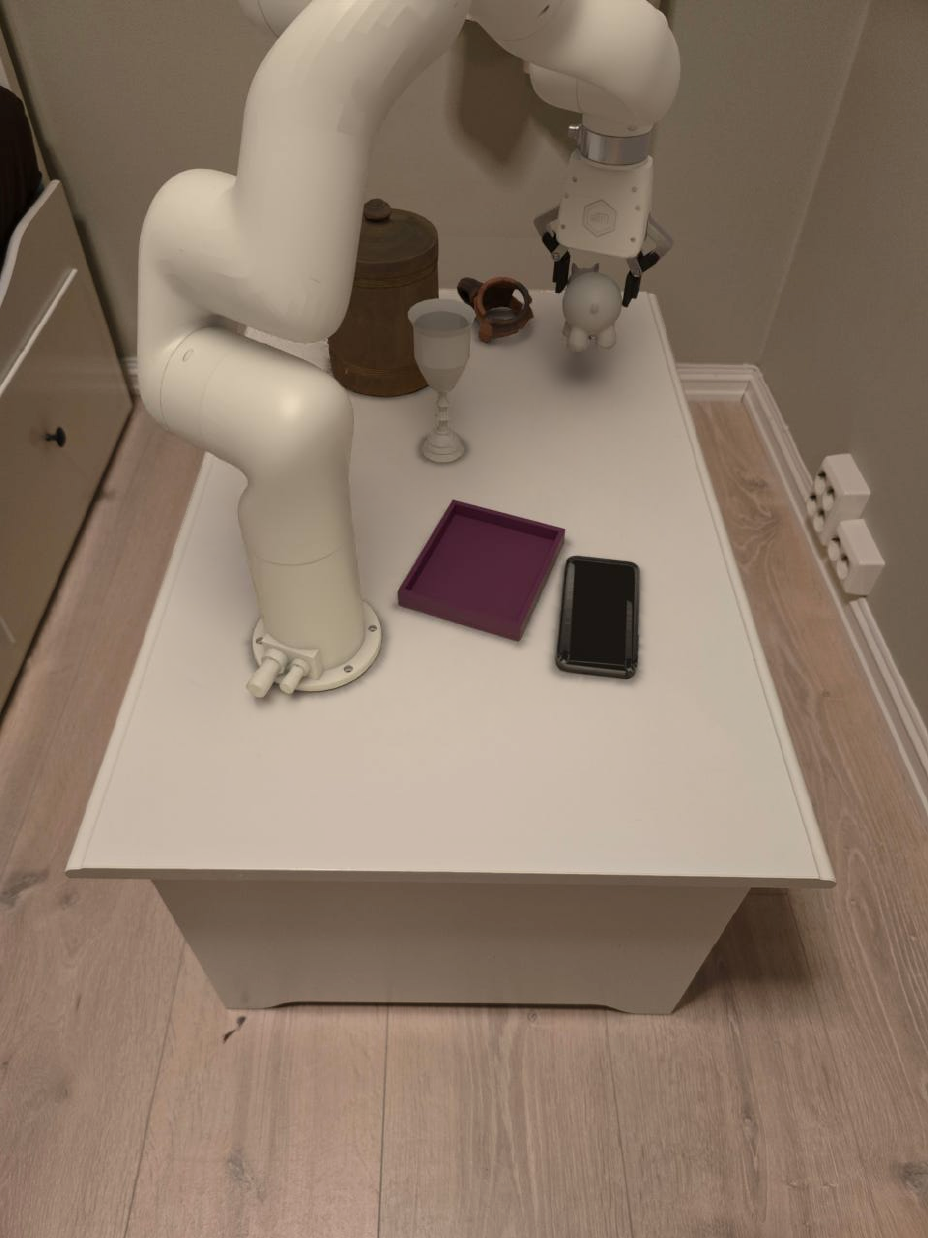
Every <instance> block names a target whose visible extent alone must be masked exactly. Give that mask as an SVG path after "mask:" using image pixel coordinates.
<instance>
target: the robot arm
mask: <svg viewBox="0 0 928 1238" xmlns="http://www.w3.org/2000/svg"><path fill="white" fill-rule="evenodd" d="M236 3H237V4H238V6H239V8H240V9H241V11H242V13H243V15H244V16H245V17H246V19H247V20H248V21H249V23H250V24H251V25H252V26H253V27H255V28H256V29H257V30H258V31H259V32H260V33H262V34H264V35H265V36H267V37H269V38H271V39H273V40H275V42H274V44H273V45H272V46H271V47H270V48H269V51H268V52H267V53H266V55H265V56H264V58H263V60H262V61H261V62H260V65H259V67H258V68H257V70H256V72H255V75H254V77H253V79H252V81H251V84H250V87H249V90H248V92H247V96H246V101H245V105H244V111H243V118H242V127H241V137H240V143H239V151H238V161H237V170H236V175H234V174H231V173H227V172H224V171H220V170H216V169H211V168H193V169H186V170H184V171H181V172H179V173H176V174H175V175H173V176H172V177H170V178H169V179H168V180H167V181H165V183H164V184H163V185H162V186H161V187H160V188H159V190H158V191H157V192H156V194H155V195H154V197H153V199H152V201H151V202H150V204H149V207H148V209H147V211H146V214H145V217H144V220H143V223H142V227H141V231H140V238H139V244H138V245H139V246H138V263H137V266H138V267H137V318H136V319H137V320H136V321H137V322H136V323H137V324H136V325H137V327H136V328H137V331H136V333H137V334H136V335H137V336H136V375H137V385H138V390H139V395H140V398H141V402H142V405H143V407H144V409H145V411H146V413H147V414H148V415H149V417H150V418H151V420H152V421H153V422H154V423H155V424H156V425H157V426H158V427H160V428H161V429H163V430H164V431H165V432H166V433H169V434H171V435H172V436H174V437H176V438H178V439H179V440H182V441H183V442H186V443H188V444H190V445H192V446H194V447H196V448H198V449H201V450H202V451H205V452H206V453H209V454H210V455H213V456H214V457H215V458H217V459H219V460H221V461H223V462H225V463H226V464H229V465H230V466H232V467H234V468H236V469H237V470H239V472H241V473H242V474H243V475H244V477H245V478H246V480H247V484H248V485H247V486H246V487H245V488H244V490H243V491H242V493H241V495H240V497H239V499H238V503H237V510H236V511H237V512H236V513H237V522H238V527H239V531H240V535H241V539H242V542H243V546H244V550H245V554H246V558H247V562H248V567H249V570H250V575H251V579H252V583H253V587H254V591H255V595H256V599H257V603H258V604H257V605H258V607H259V612H260V615H261V617H260V618H259V620H257V623H256V625H255V627H254V629H253V634H252V638H251V642H252V652H253V655H254V659H255V661H256V663H257V665H258V668H257V669H256V670H255V672H254V673H253V675H252V676H251V678H250V679H249V681H248V682H247V684H246V685H245V687H246V690H247V691H248V692H249V693H250V694H251V695H253V696H256V697H257V698H264V697H265V696H266V694H267V693H268V691H269V690H270V689H271V687H272V685H273V684H274V683H276V684H278V685H279V688H280V690H281V691H282V692H284V693H285V694H289V695H291V694H293V693H294V691H301V692H323V691H327V690H334V689H336V688H338V687H341V686H342V687H343V686H345V685H347V684H349V683H350V682H353V681H354V680H356V679H357V678H359V677H360V676H361V675H362V674H364V673H365V672H366V671H367V670H368V669H369V668H370V667H371V666H372V665H373V663H374V662H375V660H376V658H377V656H378V655H379V653H380V649H381V646H382V636H383V635H382V629H381V628H382V627H381V624H380V620H379V616H378V615H377V614H376V612H375V611H374V609H373V608H372V607H371V606H370V605H369V604H368V602H366V601H365V600H364V599H362V591H361V582H360V574H359V565H358V563H359V562H358V556H357V546H356V545H357V544H356V538H355V530H354V521H353V514H352V507H351V506H352V505H351V493H350V464H351V454H352V453H351V452H352V448H353V447H352V445H353V438H354V432H355V431H354V430H355V412H354V411H355V410H354V406H353V403H352V400H351V398H350V396H349V394H348V392H347V390H346V389H345V388H344V386H343V385H342V384H341V383H340V382H338V380H337V379H336V378H335V377H334V376H333V375H331V374H330V373H328V372H327V371H325V370H324V369H322V368H321V367H320V366H317V365H316V364H314V363H312V362H311V361H308V360H306V359H305V358H302V357H299V356H297V355H295V354H292V353H289V352H287V351H284V350H282V349H280V348H278V347H276V346H275V347H274V346H272V345H270V344H268V343H265V342H261V341H258V340H257V339H254V338H252V337H248V336H247V335H244V334H241V333H239V332H238V324H241V325H244V326H246V327H249V328H251V329H254V330H257V331H259V332H262V333H265V334H268V335H269V336H273V337H275V338H279V339H282V340H285V341H289V342H294V343H298V344H299V343H300V344H315V343H320V342H323V341H326V340H328V339H327V338H329V337H330V336H331V335H332V334H334V333H335V332H336V331H337V330H338V328H339V327H340V325H341V324H342V322H343V320H344V317H345V315H346V312H347V308H348V305H349V301H350V296H351V292H352V286H353V280H354V274H355V266H356V259H357V252H358V245H359V237H360V230H361V223H362V215H363V208H364V204H365V199H366V192H367V186H368V180H369V179H368V178H369V172H370V168H371V162H372V157H373V151H374V148H375V144H376V141H377V138H378V136H379V133H380V130H381V127H382V125H383V124H384V122H385V120H386V118H387V116H388V114H389V112H390V110H391V109H392V108H393V106H394V105H395V104H396V102H397V100H398V99H399V98H400V97H401V96H402V94H403V93H404V92H405V91H406V90H407V89H408V87H409V86H410V85H411V84H412V83H414V81H415V80H416V79H417V78H418V77H419V76H420V75H421V74H422V73H424V71H426V70H427V69H428V68H429V67H430V66H431V65H433V64H434V63H435V62H436V61H438V60H439V58H441V57H442V56H443V55H444V54H445V53H446V52H447V51H448V50H449V48H451V46H452V45H453V44H454V42H455V40H456V39H457V37H458V36H459V34H460V32H461V30H462V28H463V27H464V24H465V21H466V18H467V16H468V15H469V16H470V17H471V18H472V19H473V20H474V21H476V23H477V24H479V26H481V27H482V29H483V30H484V32H486V33H487V34H488V35H489V36H490V37H491V38H492V39H493V40H494V41H495V42H496V43H497V45H499V46H500V47H501V48H502V49H503V50H505V51H506V52H508V53H509V54H511V55H513V56H515V57H516V58H519V59H522V60H523V61H526V62H528V63H529V79H530V83H531V86H532V89H533V90H534V92H535V94H536V95H537V96H538V97H539V98H540V99H541V100H542V101H543V102H545V103H547V104H548V105H550V106H552V107H555V108H558V109H563V110H567V111H570V112H573V113H577V114H582V120H581V122H580V123H577V124H569V126H568V129H567V130H568V131H567V138H569V139H573V140H574V141H576V144H577V148H576V149H575V150H573V151H572V152H571V154H570V157H569V160H568V163H567V167H566V171H565V175H564V179H563V180H564V181H563V186H562V189H561V196H560V201H559V203H557V204H556V205H554V206H551V207H550V208H548V209H546V210H544V211H542V212H541V213H539V214H537V215H536V216H535V218H534V219H533V225H534V227H535V229H536V231H537V233H538V235H539V236H540V237H541V242H542V244H543V245H544V247H546V249H547V250H548V252H549V253H550V254H551V256H550V257H551V260H553V271H552V280H551V281H552V283H553V284H555V289H554V293H555V294H557V295H559V294H562V293H563V291H564V290H565V288H566V287H567V282H568V279H569V276H570V275H569V274H570V266H571V257H572V256H571V254H570V251H569V250H570V249H571V250H576V251H580V252H585V253H591V254H595V255H601V256H605V257H612V258H617V259H625V260H626V263H627V266H628V268H629V271H628V272H627V275H626V277H625V282H624V289H623V295H622V308H629V306H630V304H631V303H632V300H637V298H638V296H639V293H640V287H641V281H642V276H643V274H644V273H645V272H646V271H648V270H650V269H651V268H652V267H654V266H656V265H657V264H658V263H659V261H660V260H661V259H662V258H664V257H665V255H667V254H668V253H669V252H670V251H671V250H672V248H673V246H674V244H675V241H674V239H673V238H672V237H671V236H670V235H669V234H668V233H667V232H666V231H665V229H663V228H662V227H661V225H659V223H658V222H657V221H656V220H655V219H654V218H653V217H652V216H651V215H652V214H651V213H652V203H653V192H654V190H653V189H654V159H653V157H652V156H651V155H649V152H650V145H651V138H652V133H653V126H654V124H656V123H658V122H660V121H661V120H662V118H664V117H665V115H666V114H667V113H668V111H669V110H670V108H671V107H672V105H673V103H674V101H675V99H676V96H677V93H678V90H679V85H680V82H681V81H680V80H681V68H682V67H681V55H680V52H679V46H678V44H677V41H676V39H675V36H674V34H673V32H672V30H671V29H670V27H669V23H668V19H667V17H666V15H665V14H664V12H662V11H661V10H659V9H657V8H656V7H655V6H654V5H652V4H651V3H650V2H649V1H648V0H236ZM554 221H556V228H555V229H556V230H554V229H553V228H552V225H551V223H552V222H554ZM648 237H649V238H650V239H651V240H652V242H654V243H655V245H656V247H654V248H653V249H652V250H650V251H649V252H647V253H646V254H645V253H644V250H643V245H644V243H645V242H646V240H647V238H648Z"/></svg>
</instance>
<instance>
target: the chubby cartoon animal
mask: <svg viewBox="0 0 928 1238" xmlns="http://www.w3.org/2000/svg"><path fill="white" fill-rule="evenodd" d="M599 270H600V263H599V262H597V263H595V264H594V265H593V266H592V267H590V268H588V267H581V266H578V265H577V264H576V263H575V262H572V263H571V269H570V271H571V274H570V275H569V276H568V282H567V285H566V289H564V290H565V291H564V293H563V296H562V300H561V301H562V302H561V309H562V314H563V317H564V319H565V321H564V323H563V326H562V330H561V331H562V336H563V337H564V338H566V339H567V340H566V347H567V348H568V349H569V350H571V351H573V352H578V353H580V352H584V351H586V349H588V345H589V341H591V340H592V338H594V344H595V346H596V347H597V348H598V349H601V350H611V349H612V348H614V347H615V346H616V344H617V330H616V328H615V327H616V326H615V324H616V322H617V321H618V319H619V317H620V316H621V313H622V309H623V306H622V300H623V295H622V292H621V289H620V287H619V285H618V284H617V282H616V281H615V280H614V279H613V278H611V277H610V276H609V275H607V274H605V273H602V272H599Z"/></svg>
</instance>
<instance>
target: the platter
mask: <svg viewBox="0 0 928 1238" xmlns="http://www.w3.org/2000/svg"><path fill="white" fill-rule="evenodd" d="M565 537H566V528H562V527H559V526H555V525H552V524H548V523H545V522H544V523H543V522H540V521H537V520H533V519H529V518H525V517H521V516H517V515H513V514H510V513H507V512H504V511H503V512H502V511H498V510H494V509H491V508H487V507H483V506H480V505H476V504H472V503H468V502H464V501H460V500H457V499H452V500H451V502H450V503H449V505H448V506H447V508H446V510H445V511H444V513H443V515H442V516H441V518H440V519H439V521H438V523H437V524H436V526H435V528H434V530H433V532H432V533H431V535H430V536H429V538H428V540H427V541H426V543H425V545H424V546H423V547H422V550H421V552H420V553H419V555H418V556H417V558H416V559H415V561H414V563H413V565H412V566H411V568H410V570H409V571H408V573H407V574H406V576H405V578H404V580H403V582H402V583H401V584H400V587H398V589H397V603H398V607H402V608H405V609H409V610H411V611H415V612H418V613H422V614H424V615H427V616H432V617H435V618H439V619H441V620H444V621H445V620H446V621H450V622H452V623H455V624H459V625H462V626H466V627H468V628H472V629H475V630H478V631H482V632H486V633H489V634H492V635H496V636H498V637H501V638H502V637H503V638H505V639H509V640H512V641H515V642H520V641H521V639H522V637H523V635H524V633H525V630H526V628H527V626H528V623H529V621H530V619H531V617H532V615H533V612H534V610H535V608H536V606H537V604H538V603H539V602H538V601H539V599H540V597H541V594H542V592H543V591H544V588H545V586H546V584H547V581H548V580H549V577H550V575H551V573H552V571H553V568H554V566H555V564H556V562H557V559H558V558H559V555H560V553H561V551H562V549H563V546H564V544H565Z"/></svg>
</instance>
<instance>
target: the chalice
mask: <svg viewBox="0 0 928 1238" xmlns="http://www.w3.org/2000/svg"><path fill="white" fill-rule="evenodd" d="M475 318H477V317H476V314H475V311H474V310H473V309H472V307H471V306H469V305H467V304H466V303H465V302H464V301H461V300H457V299H453V298H439V299H430V300H425V301H422V302H419V303H417V304H415V305H414V306H412V307H411V308H410V310H409V311H408V319H409V320H410V322H411V323H412V325H413V334H414V357H415V360H416V362H417V364H418V367H419V369H420V371H421V373H422V375H423V376H424V378H425V379H426V381H427V383H428V384H427V385H428V386H429V388H430V390H432V391H434V392H436V393H437V394H438V395H437V399H436V401H435V403H434V404H435V405H436V406H437V410H438V411H437V413H436V414H435V415H434V417H435V420H437V422H438V427H436V428H434V429H432V430H431V432H429V433H428V435H427V437H426V439H425V441H424V444H423V445H422V448H421V452H422V455H424V457H425V458H426V459H428V460H429V461H432V462H434V463H440V464H441V463H451V462H454V461H456V460H458V459H460V458H461V457H462V456H463V454H464V450H465V448H464V446H463V444H462V442H461V440H460V438H459V435H458V434H457V433H456V432H455V430H454V429H452V428H450V427H448V425H447V424H448V421H449V420H450V419H451V414H449V413H448V407H449V405H450V401H449V399H448V396H447V394H448V393H449V392H452V391H453V390H454V389H455V387H456V385H457V384H458V383H459V381H460V379H461V377H462V376H463V374H464V371H465V369H466V368H467V364H468V362H469V360H470V357H471V326H472V325H473V323H474V321H475Z"/></svg>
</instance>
